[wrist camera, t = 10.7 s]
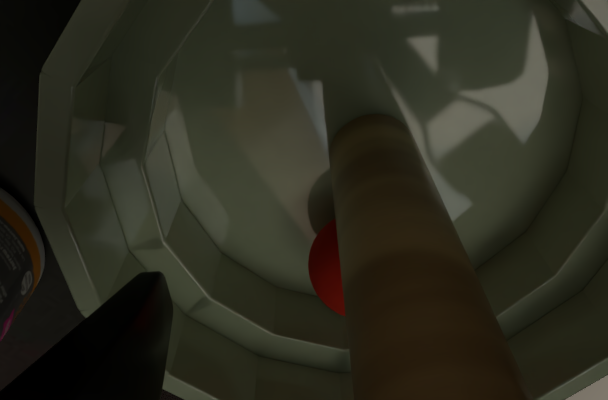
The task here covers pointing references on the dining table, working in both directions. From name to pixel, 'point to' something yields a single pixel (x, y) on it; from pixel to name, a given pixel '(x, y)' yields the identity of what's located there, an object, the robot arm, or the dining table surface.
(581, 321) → the bowl
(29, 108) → the dining table surface
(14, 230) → the pill bottle
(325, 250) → the ball
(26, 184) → the dining table surface
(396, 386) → the stick
